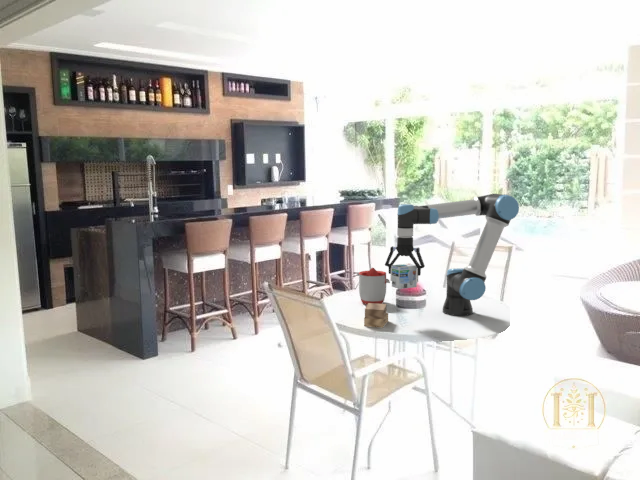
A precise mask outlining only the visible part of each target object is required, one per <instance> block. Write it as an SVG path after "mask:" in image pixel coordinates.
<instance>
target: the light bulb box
mask: <svg viewBox="0 0 640 480" xmlns="http://www.w3.org/2000/svg"><path fill="white" fill-rule="evenodd" d="M416 269H417V267H416V265H415V264H414V263H400V264H393V265H392V281H391V287H392V288H396V289H397V290H398V289H399V290H402V289H412V288H417V286H418V285H417V284H418V282H417V283H416Z"/></svg>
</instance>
